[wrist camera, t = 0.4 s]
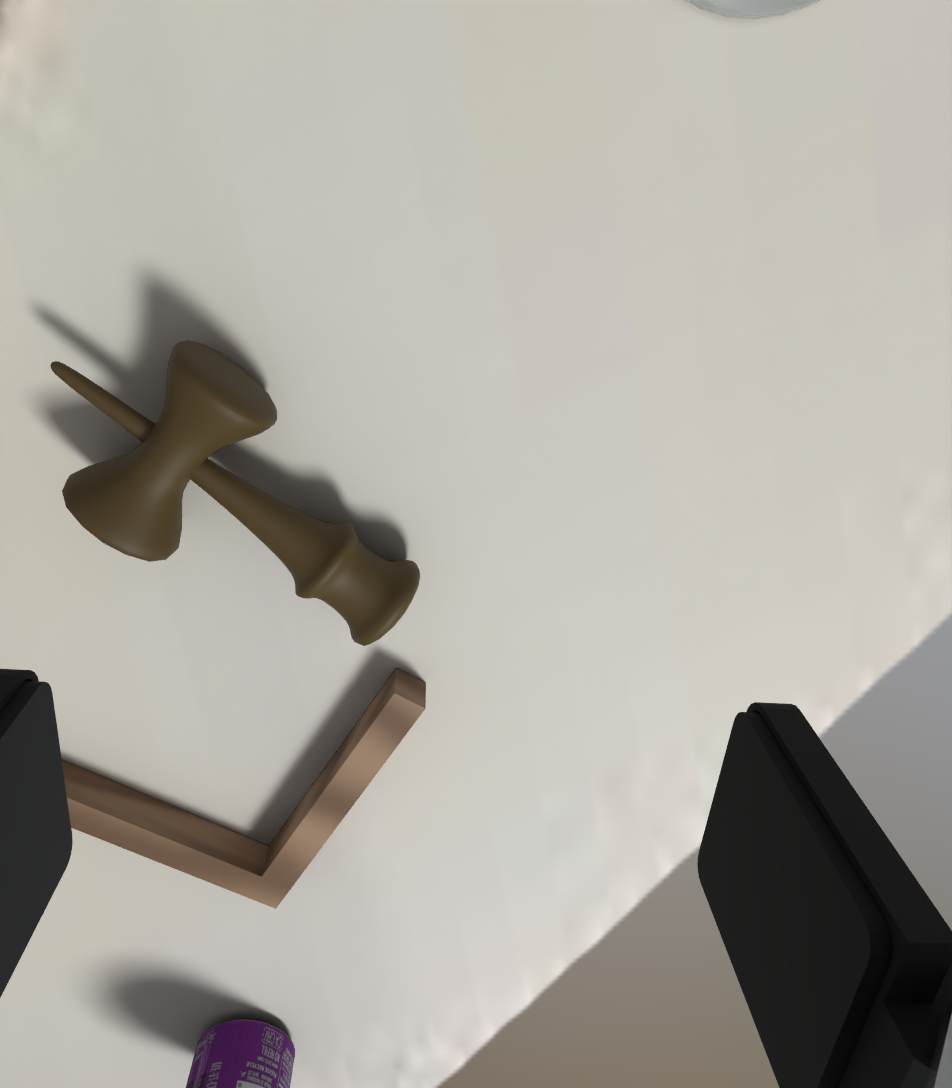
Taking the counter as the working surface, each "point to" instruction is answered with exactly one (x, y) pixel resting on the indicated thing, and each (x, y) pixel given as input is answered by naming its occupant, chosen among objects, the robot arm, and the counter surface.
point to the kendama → (224, 490)
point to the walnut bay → (231, 854)
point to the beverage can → (242, 1057)
